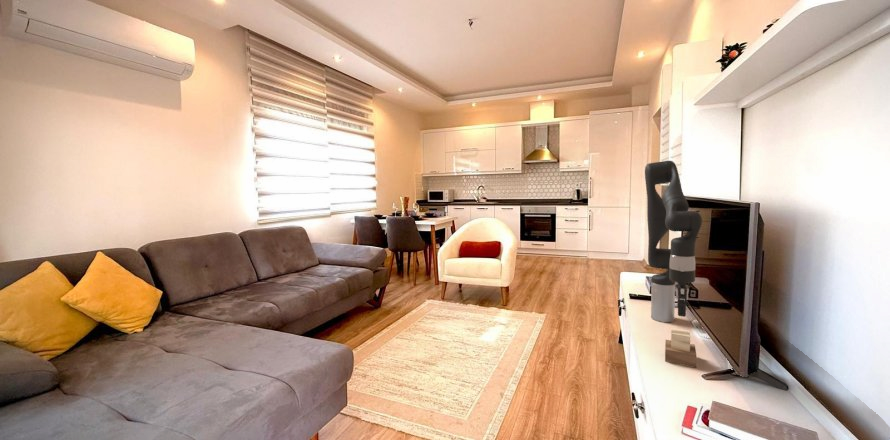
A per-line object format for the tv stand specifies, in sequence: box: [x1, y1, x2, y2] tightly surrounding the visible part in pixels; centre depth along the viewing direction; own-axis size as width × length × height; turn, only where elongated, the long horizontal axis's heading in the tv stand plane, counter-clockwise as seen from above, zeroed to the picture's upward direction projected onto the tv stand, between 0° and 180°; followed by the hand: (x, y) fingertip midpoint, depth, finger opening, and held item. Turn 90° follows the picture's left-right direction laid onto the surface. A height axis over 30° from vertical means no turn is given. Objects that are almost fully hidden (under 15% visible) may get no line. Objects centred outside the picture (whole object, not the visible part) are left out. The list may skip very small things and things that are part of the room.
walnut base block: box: [664, 339, 697, 368], centre depth 124 cm, size 9×9×4 cm
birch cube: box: [670, 327, 691, 352], centre depth 124 cm, size 6×6×6 cm
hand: (681, 311), depth 123 cm, fingers open, 8 cm apart
